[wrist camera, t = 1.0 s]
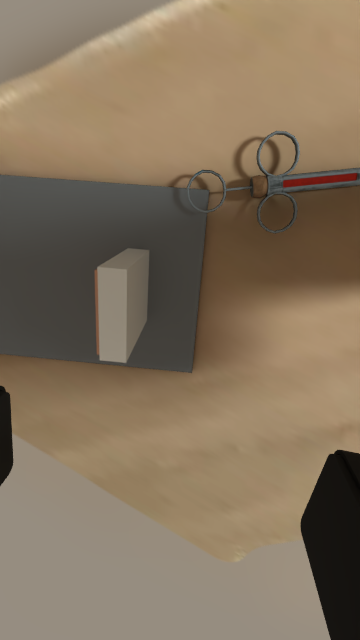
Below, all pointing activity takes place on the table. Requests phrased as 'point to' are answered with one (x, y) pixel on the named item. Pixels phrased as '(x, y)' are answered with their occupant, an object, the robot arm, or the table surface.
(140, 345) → the mat
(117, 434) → the table surface
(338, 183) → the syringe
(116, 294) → the tile
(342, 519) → the robot arm
